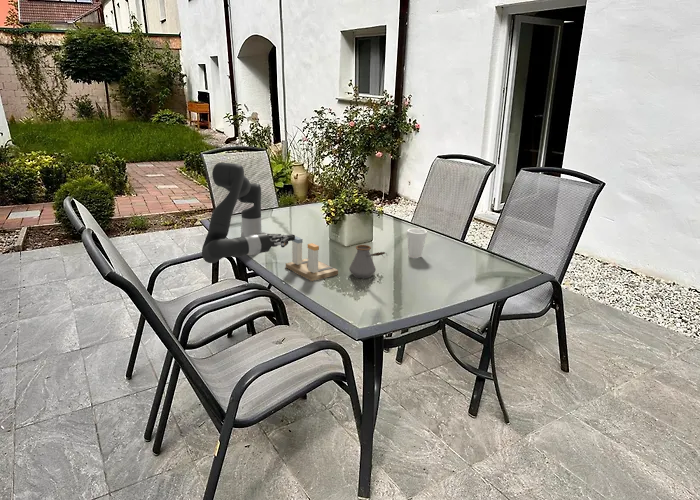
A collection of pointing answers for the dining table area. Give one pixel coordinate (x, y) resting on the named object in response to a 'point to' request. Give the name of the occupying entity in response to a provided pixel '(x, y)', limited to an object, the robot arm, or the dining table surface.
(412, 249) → the foam cup
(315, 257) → the orange topped white block
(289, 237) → the robot arm
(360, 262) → the coffee pot
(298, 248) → the grey topped white block
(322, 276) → the light wood flat block
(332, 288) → the dining table surface
